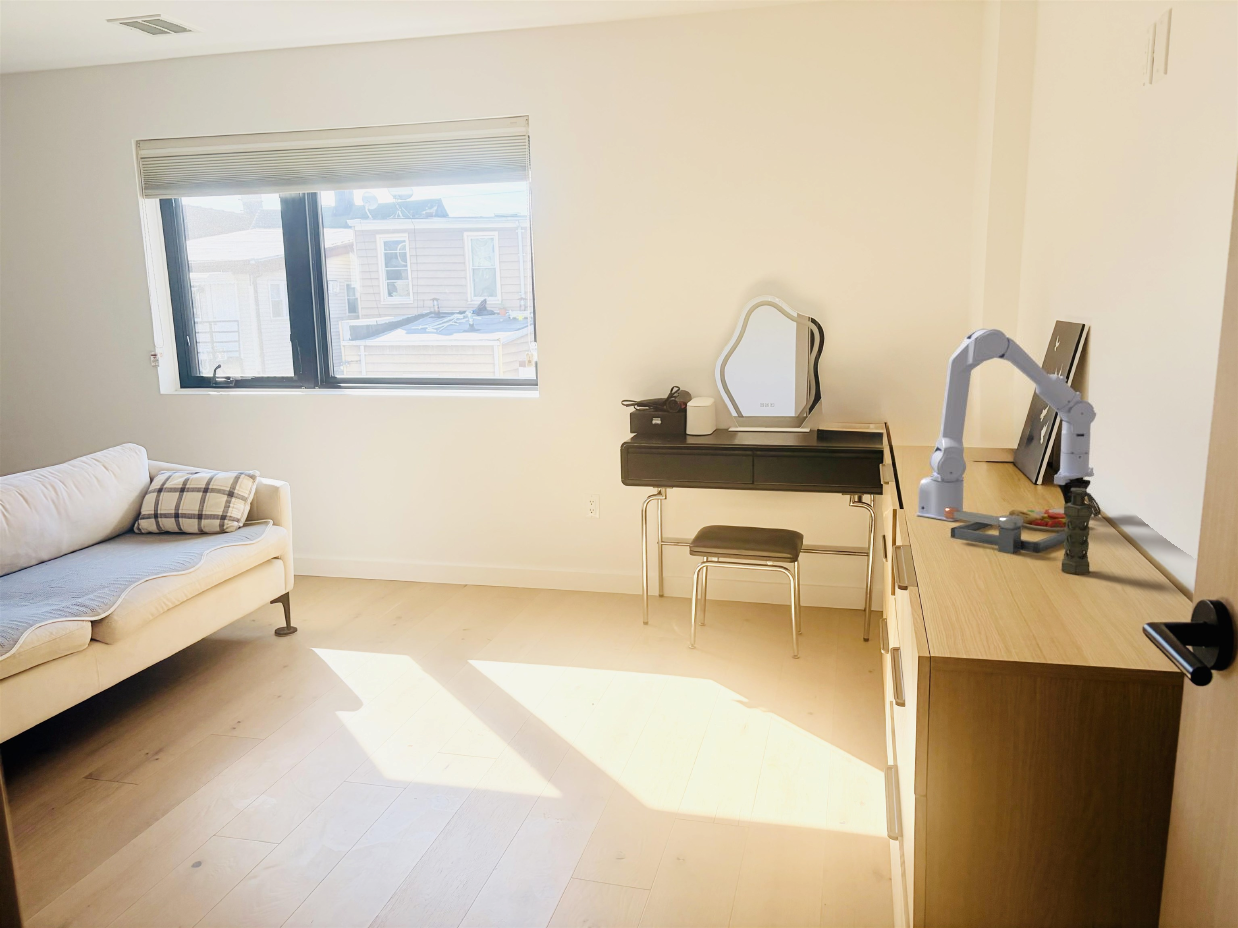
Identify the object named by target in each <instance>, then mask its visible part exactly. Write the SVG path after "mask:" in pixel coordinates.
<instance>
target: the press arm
mask: <svg viewBox="0 0 1238 928" xmlns="http://www.w3.org/2000/svg"><path fill="white" fill-rule="evenodd" d="M945 518H946V519H958V520H964V521H968V522H972V521H975V522H982V523H988V524H992V525H994V526H997V527H998V528H1004V529H1021V530H1022V529H1023V528H1024V527H1023V518H1022V517H1019V516H1014V515H1009V514H1008V515H1007V514H1006V515H1004V514H1002V515H999V516H998V515H992V514H986V513H979V512H974V511H973V512H972V511H965V510H963V511H961V510H958V508H955V507H947V508H945Z"/></svg>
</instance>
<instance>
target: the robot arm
mask: <svg viewBox="0 0 1238 928" xmlns="http://www.w3.org/2000/svg"><path fill="white" fill-rule="evenodd" d="M993 359H999V360H1003V361H1007V362H1008V363H1009V362H1010V364H1012V365H1013V366H1014V367H1015V368H1016V369H1018V370H1019V372H1021V373H1022V374H1023V375H1024V376H1026V377H1027V378H1028V379H1029V380H1030V381H1032V382H1033V383H1034V384H1035V392H1036V393H1035V394H1037V395H1038V396H1039V397H1040V398H1041V399H1042V400H1043V401H1044V402H1045V403H1046V404H1047V405H1049V406H1050V407H1051V408H1052V410H1054V411H1055V412H1057V414H1058V418H1059V419H1060V420H1062V425H1061V439H1060V441H1061V443H1060V460H1059V461H1060V464H1059V465H1060V466H1059V471H1058V472H1057V474H1055V475H1054V478H1053V480H1054V481H1053V484H1054V485H1057V486H1058V488H1059V489H1060V492H1061V494H1062V497H1063V501H1064V504H1065V503H1069V502H1072V496H1071V488H1085V489H1086V490H1087V489H1088V488H1089V486H1090V485H1091V480H1089V479H1084V478H1090V477H1091V478H1092V477H1094V476H1095V473H1094V467H1091V466H1090V449H1091V448H1090V447H1091V425H1092V423H1093V422H1094V421H1095V419H1096V416H1097V412H1095V408H1094V406H1093V404H1092V403H1090V402H1089V401H1087V400H1083V399H1081V398H1082V395H1083V394H1082V393H1080V391H1077V392H1076V391H1075V390H1074V389H1073V388H1072V387H1071V386H1070V385H1069V384H1068V383H1067V380H1068V379H1067V378H1066V377H1064V376H1062V375H1061V376H1059V375H1058V374H1055V373H1054V374H1048V373H1047V372H1046V371H1045V370H1044V369H1043V368H1042V367H1041V366H1040V365H1039V364H1038V363H1037V362H1036V361H1035V360H1034V359H1033V358H1032V357H1031V356H1030V355H1029V353H1027V352H1026V351H1025V350H1024V348H1022V347H1021V346H1020V344H1018V343H1017V342H1016V341H1015V340H1014V339H1012V338H1011V337H1009V336H1007V335H1006V333H1004V332H1003V331H1002V330H1000V329H996V328H991V329H989V328H980V329H976V330H975V331H973V332H971V333H970V334H968V335H967V336H965V337H964V339H963V341H962V343H961V344H960V345H959V346H958V347H957V349H955V352H953V353H952V355H951V356H950V358H949V360H948V365H947V371H946V381H945V389H944V395H943V396H944V397H943V398H944V399H943V404H942V413H941V422H940V431H939V437H938V438H937V440H936V442H935V448H934V450H933V452H932V453H931V454H930V457H929V466H930V468H931V469H932V471H933V472H932V473H931V475H930V476H926V477H924V478H922V479H921V480H920V483H919V487H918V493H917V494H918V497H917V499H918V501H917V503H918V504H917V505H918V507H917V510H918V511H917V512H916V516H919V517H923V518H930V519H938V520H943V521H947V522H948V521H949V522H955V521H958V520H959V519H946V518H945V508H947V507H955V508H958V510H961V511H964V484H965V482H964V481H965V478H964V474H965V473H966V469H967V463H966V460H965V457H964V453H965V452H964V451H965V449H964V442H963V440H964V438H963V437H964V430H965V422H966V415H967V413H966V412H967V406H968V401H969V400H968V399H969V391H970V383H971V376H972V371H973V370H975V369H976V368H977V367H978V366H980V365H981V364H983V363H984V362H987V361H989V360H993ZM1069 493H1070V494H1069ZM1068 494H1069V495H1068Z"/></svg>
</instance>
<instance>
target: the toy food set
mask: <svg viewBox="0 0 1238 928" xmlns="http://www.w3.org/2000/svg"><path fill="white" fill-rule="evenodd" d="M1008 515H1014V516H1019V517H1022V518H1023V527H1022V528H1023V529H1027V530H1031V531H1037V530H1039V531H1040V532H1048V533H1049V532H1050V533H1051V532H1053V533H1060V532H1062V531H1065V526H1066V520H1065V515H1064V508H1062V509H1061V508H1050V509H1049V508H1048V509H1046V510H1033V509H1030V510H1029V509H1028V510H1022V509H1012V510H1010V511H1008ZM1069 525H1070V522H1069Z"/></svg>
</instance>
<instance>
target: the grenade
mask: <svg viewBox="0 0 1238 928" xmlns="http://www.w3.org/2000/svg"><path fill="white" fill-rule="evenodd" d="M1069 494H1070V493H1069ZM1069 494H1068V495H1069ZM1071 496H1072V502H1069V503H1065V502H1064V505H1063V510H1064V515H1065V520H1066V526H1065V536H1066V537H1065V541H1064V543H1063V547H1064V553H1063V558H1062V559H1061V571H1062V572H1064V573H1065V574H1066V573H1067V574H1070V575H1086V574H1089V573H1090V561H1089V555H1088V552H1089V549H1090V547H1089V546H1090V545H1089V538H1090V537H1089V536H1090V527H1089V526H1090V520H1091V517H1092V516H1093V517H1094V518H1098V517H1099V516H1100V515H1101V513H1102V512H1101V511H1102V510H1101V508H1100V505H1099V503H1098V502H1097V501H1096V499H1095V498H1094V497H1093V495H1092V494H1091V493H1089V492H1088V490H1087V489H1085V488H1071ZM1086 499H1087V501H1088V502H1086ZM1069 522H1070V525H1069ZM1068 537H1069V539H1068Z"/></svg>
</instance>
